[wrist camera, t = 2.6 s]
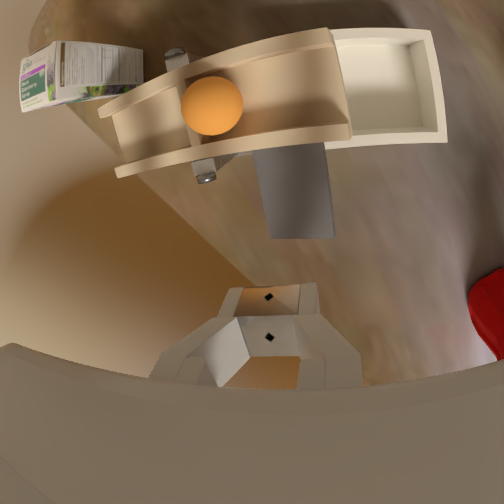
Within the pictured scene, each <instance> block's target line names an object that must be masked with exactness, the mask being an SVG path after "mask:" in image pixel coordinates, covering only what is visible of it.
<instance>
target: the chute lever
mask: <svg viewBox="0 0 504 504" xmlns="http://www.w3.org/2000/svg"><path fill="white" fill-rule="evenodd" d="M212 76H214V77H221V78H224V79H227V80H229V81H230V82H232V83H233V84H234V85H235V86H236V87H237V88H238V90H239V91H240V93H241V95H242V98H243V111H242V115H241V117H240V119H239V121H238V122H237V123H236V124H235V126H234V127H232V128H231V129H230V130H228V131H226V132H224V133H222V134H218V135H203V134H200V133H198V132H196V131H194V130H192V129H191V128H190V127H189V126H188V125H187V124H186V123H185V121H184V119H183V117H182V114H181V100H182V97H183V95H184V93H185V91H186V90H187V88H188V87H189V86H190V85H191V84H193V83H194V82H195V81H197V80H199V79H202V78H205V77H212ZM98 113H99V117H100V118H104V117H108V116H111V115H112V118H113V122H114V126H115V129H116V133H117V136H118V140H119V143H120V147H121V150H122V154H123V157H124V160H125V164H123V165H121V166H119V167H117V168H115V172H116V175H117V178H120V177H124V176H128V175H132V174H136V173H140V172H144V171H148V170H152V169H156V168H161V167H165V166H169V165H174V164H179V163H183V162H188V161H193V160H198V159H203V158H209V157H214V156H220V155H225V154H231V153H238V152H244V151H251V150H252V155H253V159H254V164H255V168H256V173H257V177H258V182H259V186H260V191H261V196H262V200H263V205H264V210H265V214H266V219H267V224H268V229H269V233H270V238H271V239H334V237H335V234H336V233H335V222H334V213H333V204H332V195H331V187H330V179H329V172H328V165H327V158H326V151H325V145H324V142H332V141H347V140H350V139H351V137H352V135H353V133H352V126H351V120H350V113H349V108H348V102H347V96H346V91H345V86H344V81H343V76H342V71H341V67H340V62H339V58H338V54H337V49H336V45H335V41H334V38H333V35H332V33H331V32H330V31H329V29H328V28H327V27H325V28H318V29H312V30H306V31H300V32H295V33H290V34H285V35H281V36H276V37H272V38H268V39H264V40H260V41H256V42H252V43H249V44H245V45H242V46H238V47H235V48H232V49H229V50H226V51H223V52H220V53H217V54H214V55H211V56H208V57H205V58H202V59H200V60H197V61H195V62H192V63H189V64H187V65H184V66H182V67H179V68H177V69H175V70H172V71H170V72H168V73H165V74H163V75H161V76H159V77H157V78H154V79H152V80H150V81H148V82H146V83H144V84H142V85H140V86H138V87H136V88H134V89H132V90H130V91H128V92H126V93H125V94H123V95H121V96H119V97H117V98H115V99H114V100H112V101H110V102H108V103H107V104H105V105H103V106H101V107H100V108H98Z"/></svg>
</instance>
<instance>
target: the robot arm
mask: <svg viewBox="0 0 504 504" xmlns="http://www.w3.org/2000/svg"><path fill="white" fill-rule="evenodd" d="M250 356H299V357H300V359H301V360H302V361H301V362H300V367H299V375H298V383H297V389H295V390H293V389H292V390H291V389H289V390H285V389H284V390H283V389H281V390H280V389H246V388H228V387H222V386H223V385H224V384H225V383H226V382H227V381H228V380H229V379H230V378H231V377H232V376H233V375H234V374H235V373H236V372H237V371H238V370H239V369H240V367H242V366H243V365H244V363H245V362H246V361H247V360H248V359H249V358H250ZM362 383H363V382H362V368H361V356H360V354H359V353H358V352H357V350H356V349H355V348H354V347H353V346H352V345H351V344H350V343H349V342H348V341H347V340H346V339H345V338H344V337H343V336H342V335H341V334H340V333H339V332H338V331H337V330H336V329H335V328H334V327H333V326H332V325H331V324H330V323H329V322H328V321H327V320H326V319H325V318H324V317H323V316H322V315H321V314H320V309H319V298H318V288H317V283H316V282H311V283H302V284H295V285H283V286H261V287H245V288H244V287H239V288H231V289H229V291H228V293H227V295H226V298H225V300H224V302H223V304H222V307H221V309H220V312H219V314H218V316H217V317H216V318H212V319H210V320H209V321H207V322H206V323H205V324H203V325H202V326H200V327H199V328H198V329H196V330H195V331H193V332H192V333H190V334H189V335H187V336H186V337H184V338H183V339H182V340H180V341H179V342H177V343H176V344H174V345H173V346H171V347H170V348H169V349H167V350H166V351H164V352H163V353H161V355H160V357H159V359H158V361H157V363H156V364H155V366H154V368H153V370H152V372H151V374H150V375H149V377H148V378H144V377H139V376H133V375H128V374H123V373H118V372H113V371H109V370H104V369H100V368H95V367H91V366H87V365H83V364H79V363H75V362H72V361H68V360H65V359H61V358H58V357H54V356H51V355H48V354H44V353H42V352H39V351H35V350H32V349H30V348H27V347H23V346H21V345H19V344H16V343H9V344H7V345H5V346H3V347H0V504H504V359H503V360H499V361H496V362H493V363H489V364H485V365H482V366H478V367H474V368H470V369H466V370H462V371H457V372H453V373H448V374H443V375H438V376H433V377H427V378H422V379H416V380H409V381H403V382H395V383H388V384H379V385H370V386H363V384H362Z"/></svg>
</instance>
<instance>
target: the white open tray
mask: <svg viewBox="0 0 504 504" xmlns="http://www.w3.org/2000/svg"><path fill="white" fill-rule="evenodd" d="M329 31H330V32H331V33H332V35H333V38H334V41H335V45H336V49H337V54H338V58H339V62H340V67H341V71H342V76H343V81H344V86H345V91H346V96H347V102H348V108H349V113H350V120H351V126H352V133H353V135H352V137H351V139H350V140H347V141H332V142H324V145H325V149H335V148H345V147H356V146H369V145H384V144H403V143H447V127H446V116H445V107H444V98H443V91H442V84H441V78H440V72H439V67H438V62H437V57H436V52H435V48H434V44H433V39H432V35H431V32H430V30H419V29H404V28H349V29H334V30H329Z"/></svg>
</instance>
